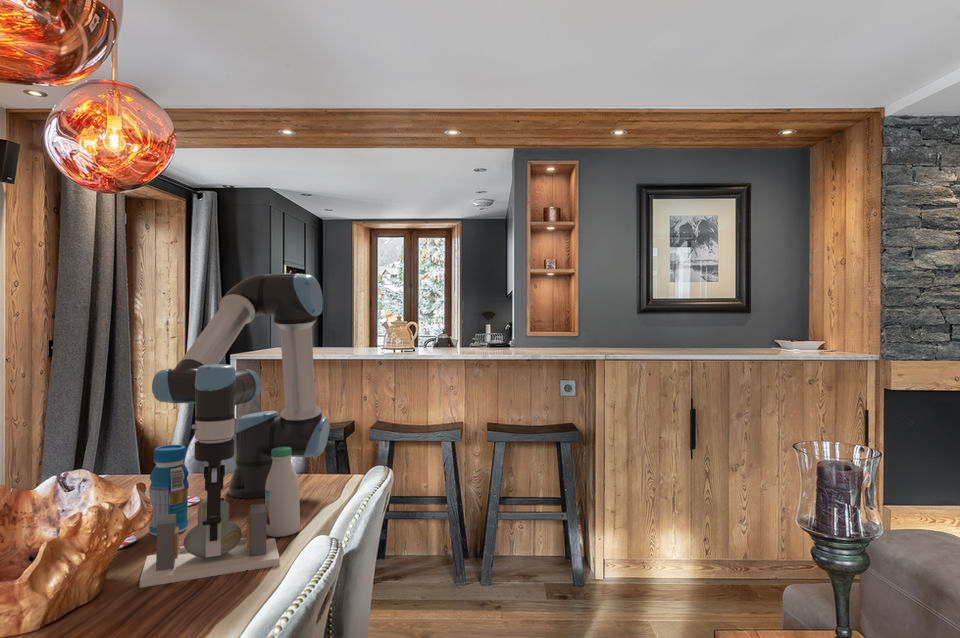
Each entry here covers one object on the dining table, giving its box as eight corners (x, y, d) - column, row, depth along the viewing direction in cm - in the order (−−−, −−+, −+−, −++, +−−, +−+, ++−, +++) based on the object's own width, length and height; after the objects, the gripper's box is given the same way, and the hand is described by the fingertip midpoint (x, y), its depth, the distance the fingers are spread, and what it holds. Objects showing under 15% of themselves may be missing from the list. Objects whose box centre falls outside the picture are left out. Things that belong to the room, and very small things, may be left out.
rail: (147, 563, 118) (148, 512, 118) (274, 544, 129) (275, 498, 129) (139, 587, 107) (140, 531, 108) (279, 565, 118) (280, 514, 118)
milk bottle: (306, 527, 139) (304, 445, 139) (289, 538, 132) (287, 452, 132) (277, 525, 141) (275, 444, 141) (259, 537, 133) (257, 451, 134)
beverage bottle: (143, 538, 132) (144, 452, 132) (154, 526, 140) (155, 444, 140) (183, 535, 134) (185, 450, 134) (191, 523, 142) (192, 442, 142)
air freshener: (214, 540, 124) (215, 495, 125) (247, 544, 122) (247, 498, 122) (176, 561, 114) (177, 511, 114) (211, 565, 112) (212, 514, 112)
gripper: (196, 430, 127) (195, 528, 127) (191, 452, 106) (190, 570, 106) (233, 428, 130) (232, 524, 130) (235, 449, 109) (234, 564, 109)
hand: (213, 545), depth 118 cm, fingers closed on air freshener, 11 cm apart
